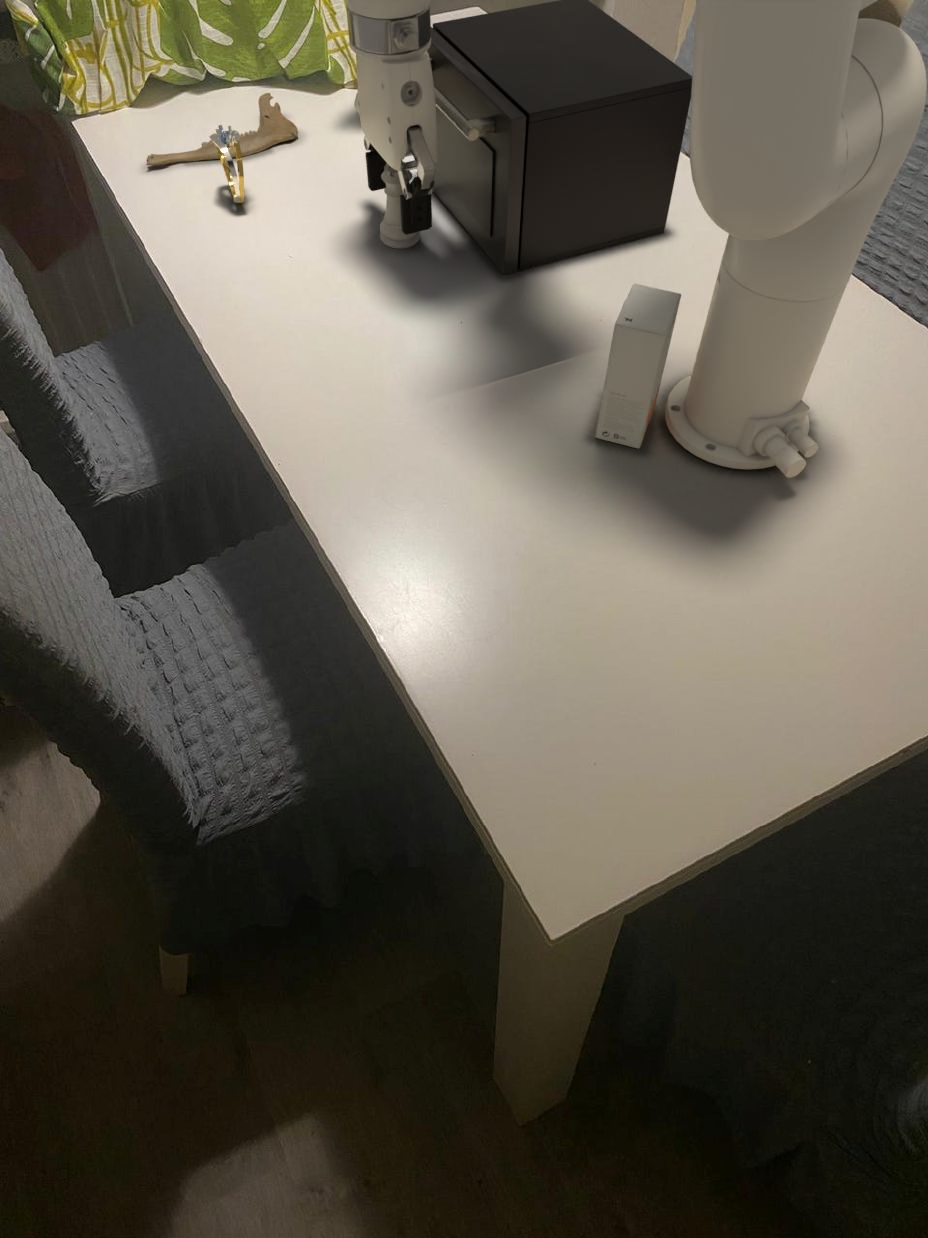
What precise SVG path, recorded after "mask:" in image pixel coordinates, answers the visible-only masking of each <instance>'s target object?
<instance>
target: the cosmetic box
mask: <svg viewBox="0 0 928 1238" xmlns="http://www.w3.org/2000/svg"><path fill="white" fill-rule="evenodd" d="M681 298H682V293H679V292H674V291H670V290H666V289H660V288H658V287H657V288H656V287H651V286H647V285H643V284H639V283H633V284H632V285H631V288H630V290H629V292H628V294H627V296H626V298H625V300H624V301H623V304H622V307H621V309H620V312H619V314H618V316H617V319H616V321H615V324H614V327H613V333H612V338H611V343H610V350H609V355H608V360H607V361H608V362H607V367H606V372H605V378H604V385H603V390H602V395H601V401H600V406H599V412H598V417H597V423H596V430H595V434H594V436H595V437H594V438H596V439H599V440H603V441H607V442H612V443H615V444H617V445H618V444H619V445H622V446H626V447H630V448H634V449H640V448H641V447H642V444H643V441H644V438H645V435H646V432H647V430H648V429H647V428H648V426H649V423H650V421H651V418H652V416H653V413H654V411H655V409H656V404H657V401H658V397H659V393H660V392H659V391H660V388H661V387H660V386H661V385H662V384H661V383H662V379H663V374H664V371H665V368H666V367H665V366H666V362H667V358H668V355H669V350H670V346H671V341H672V336H673V332H674V328H675V324H676V320H677V315H678V311H679V308H680V304H681V303H680V302H681Z"/></svg>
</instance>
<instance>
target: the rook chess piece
mask: <svg viewBox="0 0 928 1238" xmlns="http://www.w3.org/2000/svg"><path fill="white" fill-rule="evenodd" d="M405 162H406V161H403V163H405ZM407 174H408V178H409V182H410V183H411V181H412V180H413V178H414V176H413V173H412V172H411V170H409V171H407ZM381 179H382V180H383V181H384V182H385V183H386V188H385V189H383V191H384V194H385V195H386V204H385V212H384V213H385V214H384V215H383V216H382V217H383V218H382V221H381V222H380V223H379V224H380V225H379V231H380V233H379V239H380V241H381V242H382V243H383V244H384V245H385V246H387V247H389V248H391V249H396V250H402V249H408V248H411V247H413V246H414V245H416V244H417V243H418V242H419V240H420V238H421V231H420V232H416V233H412V234H408V235H406V234H404V233H403V231H402V226H401V208H400V195H404V194H403V190H402V186H401V182H400V179H399V175H398V171H397V170H395V169H393V168H392V167H390V166H389V165H388V164H387V163H386V166H384V172H383V173H382V175H381Z"/></svg>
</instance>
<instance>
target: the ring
mask: <svg viewBox="0 0 928 1238" xmlns="http://www.w3.org/2000/svg"><path fill="white" fill-rule="evenodd" d="M227 127H228V128H227V129H228V130H224V128H223V125H222V124H219V125H218V128H216V129H215V133H212V134H210V135H209V136H208V137H209V140H212V142H214V144H215V147H216V149H217V152H218V155H219V157H220V159H219V160H220V163H221V165H222V169H223V171H224V174H225V176H226V180H227V184H228V186H229V189H230V193H231V195H232V200H233V202H234V203H235V204H243V203H244V201H245V175H244V163H243V156H242V154H241V148H240V143H239V140H240V135H241V133H239V131H237V130H235V129H233V128H232V125H228V126H227ZM233 138H234V141H233ZM230 146H233V150H234V152H235V156H236V157H235V160H236V166H235V163H234V161H233V157H232V158H231V155H230V153H229V152H228V149H230ZM222 152H223V153H222ZM223 154H224V156H223ZM224 157H225V158H224ZM236 167H237V170H236Z"/></svg>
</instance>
